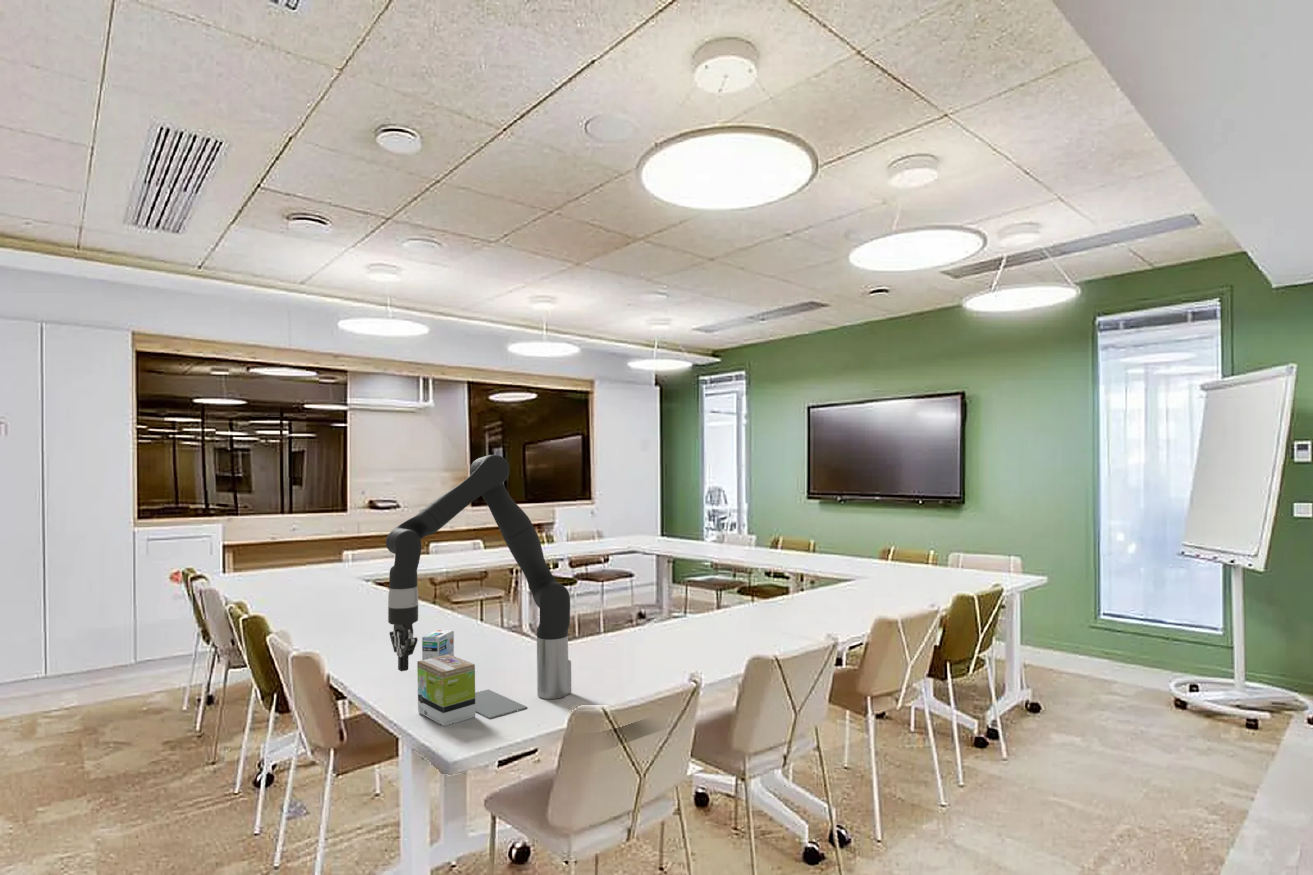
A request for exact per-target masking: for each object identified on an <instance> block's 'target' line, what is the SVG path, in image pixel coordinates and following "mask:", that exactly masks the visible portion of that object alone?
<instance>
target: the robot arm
mask: <svg viewBox="0 0 1313 875" xmlns="http://www.w3.org/2000/svg"><path fill="white" fill-rule="evenodd" d="M469 469H470V470H469V476H468V477H467V478H465V479H464V480H463V481H462V482H460V483H459V484H458V485H456V486H454V487H453V488H451V489H450V490H448V491H446V492H445V493H443V494H441V495H440V496H439V497H438V498H436V499H434V500H433V501H432V502H430V503H429V504H428V505H426V507H424V508H423V509H421V511H419V512H418V513H417V514H416V515H414V516H412V517H411V518H409V519H407V520H405V521H404V522H402V523H400V524H399V525H397V526H396V527H394V528H393V529H392V530H391V531H390V532H389V533H388V534H387V536H386V539H385V547H386V548H387V550H388V552H390V553H392V554H394V565H393V566H391V568H390V570H389V580H388V581H389V583H388V584H389V590H388V601H387V602H388V603H387V606H388V607H387V608H388V609H387V622H388V624H390V625H392V626H393V630H392V631H389V637H390V638H389V639H390V641H391V644H392V650H393V652H394V653H396V656H397V669H398V671H400V672H407V671H408V670H409V656H411V655H413V654H414V651H415V648H416V646H417V643H418V637H417V636H416V637H414V626H413V625H414V623H417V622H418V621H419V591H418V590H419V589H418V566H419V564H420V559H421V554H422V541H421V540H422V539H423V538H425V537H426V536H433V535H434V534H436V533H437V532H438V531H439V530H441V529H442V528H443V527H444V526H445V525H447V523H449V522H450V521H452V520H453V519H454V518H455V517H456V516H457V515H458V514H460V513H461V512H462V511H463V510H464V509H465V508H466V507H468V506H469V505H471V503H473V502H474V501H476V500H477V499H478V498H480V497H482V498H483V500H484V502H485V503H486V505H487V507H488V508H489V510H490V512H491V515H492V517H493V520H494V521H495V523H496V525H497V527H498V529H499V531H500V534H501V536H502V537H503V539H504V541H505V544H506V546H507V547H508V550H509V551H510V553H511V555H512V557H513V558H514V560H515V562H516V563H517V565H518V566H519V569H520V570H521V571H522V573H523V575H524V577H525V579H526V582H527V585H528V586H529V589H530V592H531V595H532V598H533V600H534V603H535V605H536V606H537V608H538V609H539V621H538V623H539V624H538V626H537V627H536V671H537V672H536V674H537V675H536V680H537V681H536V682H537V683H536V685H537V686H536V687H537V690H536V691H537V692H536V695H537V696H538V697H539V698H541V699H546V700H554V699H561V698H564V697H566V696H568V695H569V694H571V693H572V661H571V660H570V659H569V628H570V623H571V596H570V592H569V589H567V587H566V586H565V585H563V584H562V583H559V582H558V581H557V580H556V578H555V577H554V575H553V574H552V571H551V570H550V568H549V567H548V565H547V563H546V560H545V557H544V556H545V555H544V551H543V548H542V542H541V540H540V537H539V534H538V533H537V531H536V529H535V527H534V525H533V523H532V521H531V519H530V517H529V516H528V515H527V514H526V513H525V511H524V510H523V509H522V507H520V506H519V505H518V504H517V503H516V502H515V500H513V498H512V497H511V496H510V494H509V492H508V491H507V488H506V487H505V484H504V482H506V480H507V479H508V477H509V475H510V465H509V462H508V461H507V460H506V458H504V457H503V456H501V455H498V454H489V455H485V456H481V457H478V458H477V459H475V460H473V461H472V463H471V465H470V468H469Z"/></svg>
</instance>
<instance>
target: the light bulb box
mask: <svg viewBox="0 0 1313 875" xmlns="http://www.w3.org/2000/svg"><path fill="white" fill-rule="evenodd" d="M421 643H422V644H421V648H422V650H421V651H422V653H421V654H422V655H421V656H422V657H421V661H422V660H426V659H430V658H434V657H438V656H443V655H447V654H449V655H452V656H454V657H455V649H454V648H455V646H454V645H455V631H454V630H447V629H436V630H433V631H432V632H430V633H428V634H426V635H423V636H422V637H421Z"/></svg>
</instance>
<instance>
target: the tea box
mask: <svg viewBox="0 0 1313 875" xmlns="http://www.w3.org/2000/svg"><path fill="white" fill-rule="evenodd" d="M416 663H417V666H416V668H417V669H416V670H417V671H416V672H417V710H418V713H419V714H421V715H423V716H425V717H427V718H429V719H430V720H431V721H434V722H435V723H437V724H439V725H440V724H441V725H440V726H442V727H446V725H447V726H450V725H453V724H452V723H454V724H457V723H460V722H463V721H466V720H470V719H473V718H475V717H476V712H475V693H476V669H475V668H476V664H475V663H472V662H469V661H467V660H464V659H462V658H459V657H456V656H455V655H454V656H452V655H449V654H447V655H443V656H438V657H434V658H430V659H426V660H422V659H421V660H417V662H416ZM449 724H450V725H449Z"/></svg>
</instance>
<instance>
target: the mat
mask: <svg viewBox="0 0 1313 875" xmlns="http://www.w3.org/2000/svg"><path fill="white" fill-rule="evenodd" d="M525 708H527V709H528V706H526V705H524V704H522V703H520V702H517V701H515V700H513V699H511V698H509V697H506V696H504V695H502V694H499V693H498V692H496V691H493V690H490V689H484V690H481V691H475V714H476V713H477V714H479V715H480V714H481V716H482V715H483V716H482V717H484V718H487V719H488V720H492V719H495V718H498V717H501V716H500V715H502V716H504V715H503V714H506V715H508V713H509V714H512V713H511V712H513V713H515V711H516V712H518V711H517V710H520V711H523V710H526V709H525ZM497 716H498V717H497Z"/></svg>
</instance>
